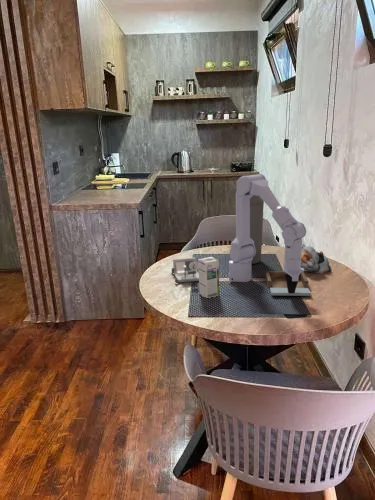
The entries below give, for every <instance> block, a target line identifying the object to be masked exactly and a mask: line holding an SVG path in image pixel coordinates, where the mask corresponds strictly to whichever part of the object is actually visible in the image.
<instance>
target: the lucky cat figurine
mask: <svg viewBox="0 0 375 500" xmlns="http://www.w3.org/2000/svg"><path fill="white" fill-rule="evenodd" d="M301 268H304V271H303V272H309V273H316V274H321V275H322V274H327V273H331V272H333V270H332V266H331V265H330V261H329V260H328V258H327V256H326V255H324V252H323V251H322V250H321V251H319V252H318V251H316V249H315V248H314V247H313V246H307V245H305V244H304V243H302V254H301Z"/></svg>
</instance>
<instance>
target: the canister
mask: <svg viewBox="0 0 375 500" xmlns="http://www.w3.org/2000/svg"><path fill="white" fill-rule="evenodd" d="M264 204H265V202H264V201H263V199H262V198H261V197H260V196H257V195H253V196H252V197H251V198H250V238H251V239H252V240H253V241H254V246H255V249H256V254H255V256H254V257H253V260H252V264H251V265H253V264H258V263H260V262H261V261H262V245H263V227H264V226H263V225H264Z"/></svg>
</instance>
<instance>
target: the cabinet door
mask: <svg viewBox="0 0 375 500" xmlns="http://www.w3.org/2000/svg"><path fill="white" fill-rule="evenodd" d="M269 292H270V294H271V296H287V297H288V296H296V297H297V296H306V297H307V296H309V297H312V292H311V291H310V289H309V287H308V288H296V290H295V293H288V289H287V288H270V290H269Z"/></svg>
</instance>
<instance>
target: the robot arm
mask: <svg viewBox="0 0 375 500" xmlns="http://www.w3.org/2000/svg"><path fill="white" fill-rule="evenodd" d="M253 195H257V196H260V197H261V198H262V199H263V201H264V204H266V206H267V207H268V208H269V209H270V210H271V211H272V214H271V217H272V218H273V220H274V221H275V222H276V224H277V225H278V227H279V228H280V229H281V236H282V238H283V241H284V242H283V244H284V260H283V261H284V263H283V271H284V272H286V273H283V274H284V276H285V279H286V282H287V289H288V293H295V290H296V286H297V284H298V282H299V280H300V279H301V276H300V273H301V272H305V271H304V268H301V254H302V244H303V238H304V237H305V236H306V234H307V228H306V226H305V224H304V223H303V222H301V221H298V220H297V219H296V218H295V217H294V216H293V214H292V212H290V209H289V208H288V207H286V206H284V205H281V204H280V202H279V200H278V199H277V197H276V196H275V194H274V193H273V191H272V189H271V187H269V180H267V179H266V177H265V175H264V174H262V173H257V174H251V175H242V176H240V177H239V178H238V179H237V180H236V191H235V238H234V239H233V240H232V242H231V243H230V249H229V258H230V260H228V273H227V274H228V275H227V276H228V284H229V285H231V282H236V283H237V282H240V283H248V282H250V281H251V280H252V265H253V264H252V260H253V257H254V256H255V254H256V249H255V246H254V241H253V240H252V239H251V238H250V198H251V197H252V196H253Z"/></svg>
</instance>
